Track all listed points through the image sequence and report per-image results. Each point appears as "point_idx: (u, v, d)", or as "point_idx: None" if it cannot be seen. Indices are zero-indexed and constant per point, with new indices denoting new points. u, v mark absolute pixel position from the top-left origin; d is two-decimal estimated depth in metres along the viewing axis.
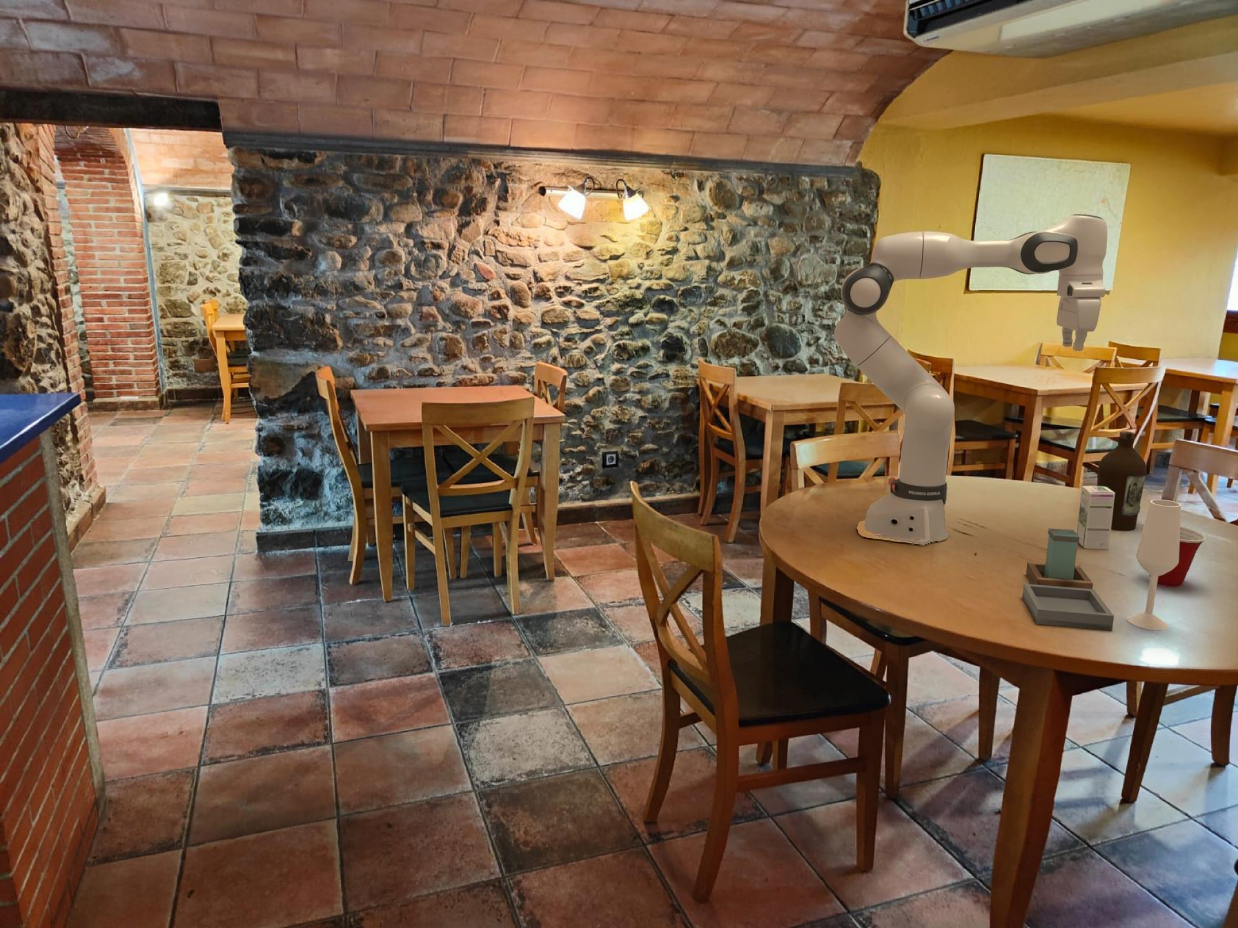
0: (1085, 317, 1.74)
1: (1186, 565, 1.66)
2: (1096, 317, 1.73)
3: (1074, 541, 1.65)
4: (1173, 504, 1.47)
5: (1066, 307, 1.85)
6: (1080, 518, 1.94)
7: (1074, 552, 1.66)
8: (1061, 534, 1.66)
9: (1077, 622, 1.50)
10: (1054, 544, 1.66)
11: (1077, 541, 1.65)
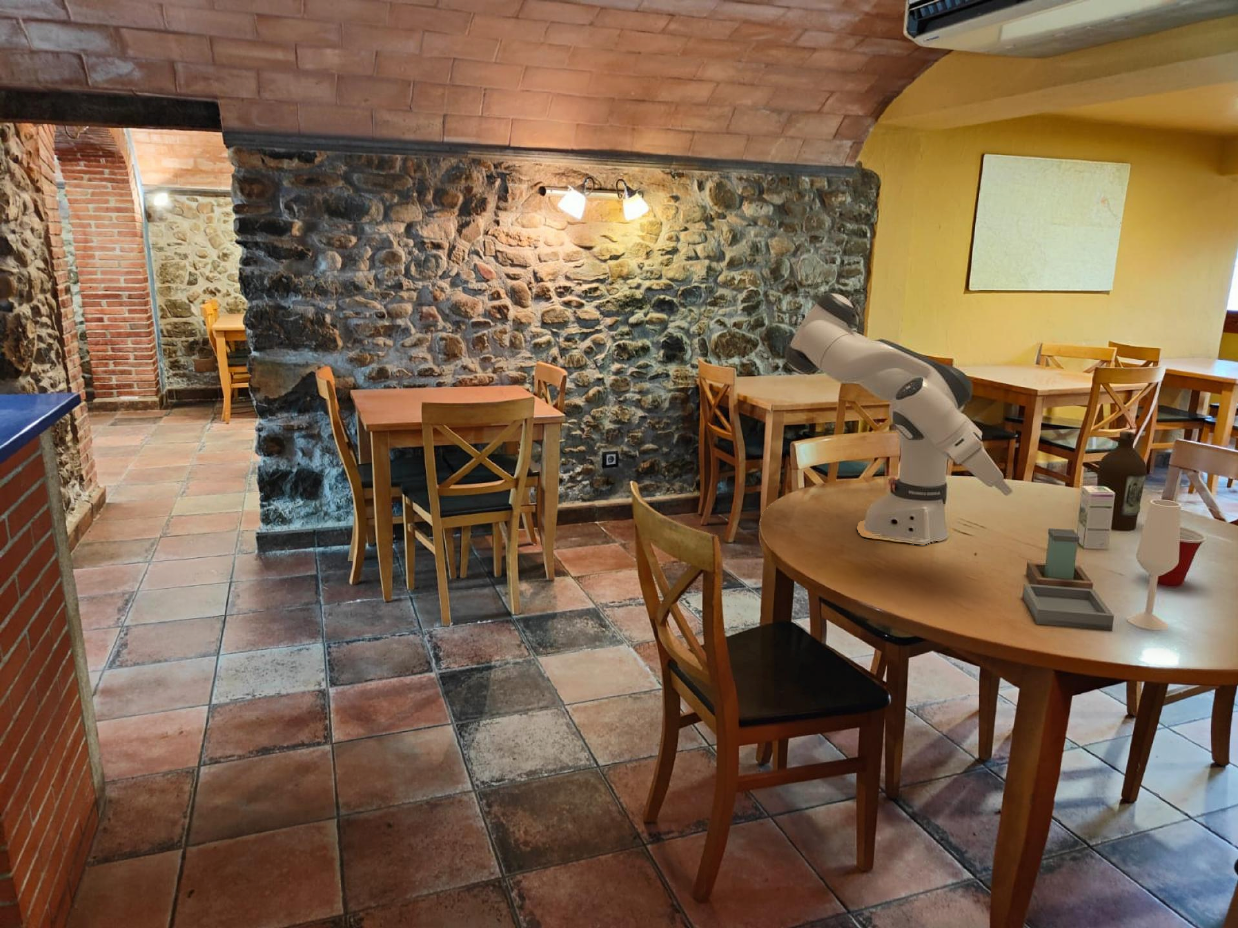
0: (984, 473, 1.60)
1: (1186, 565, 1.66)
2: (993, 467, 1.59)
3: (1074, 541, 1.65)
4: (1173, 504, 1.47)
5: None
6: (1080, 518, 1.94)
7: (1074, 552, 1.66)
8: (1061, 534, 1.66)
9: (1077, 622, 1.50)
10: (1054, 544, 1.66)
11: (1077, 541, 1.65)
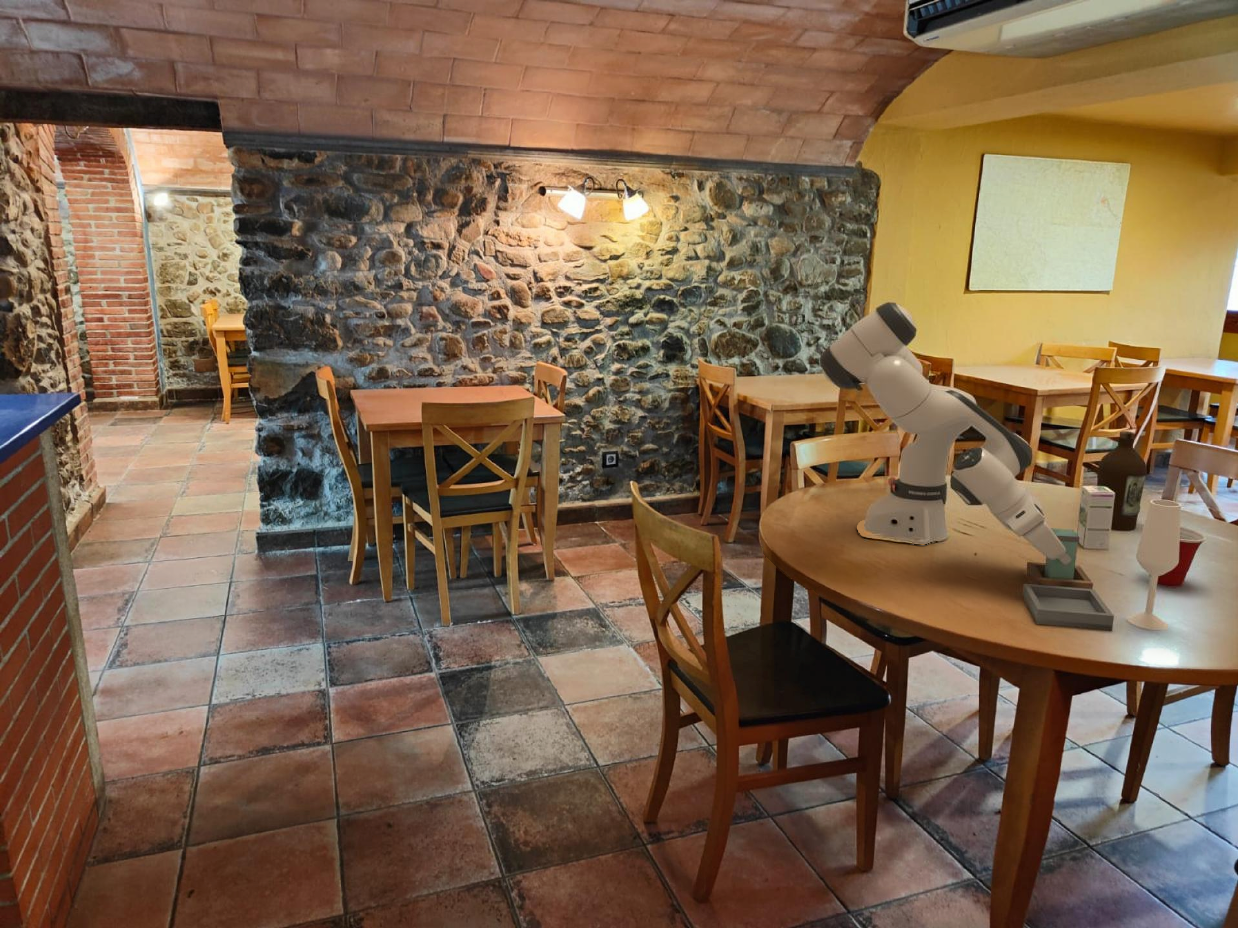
0: (1047, 547, 1.60)
1: (1186, 565, 1.66)
2: (1056, 541, 1.59)
3: (1074, 541, 1.65)
4: (1173, 504, 1.47)
5: None
6: (1080, 518, 1.94)
7: (1074, 552, 1.66)
8: (1061, 534, 1.66)
9: (1077, 622, 1.50)
10: None
11: (1077, 541, 1.65)
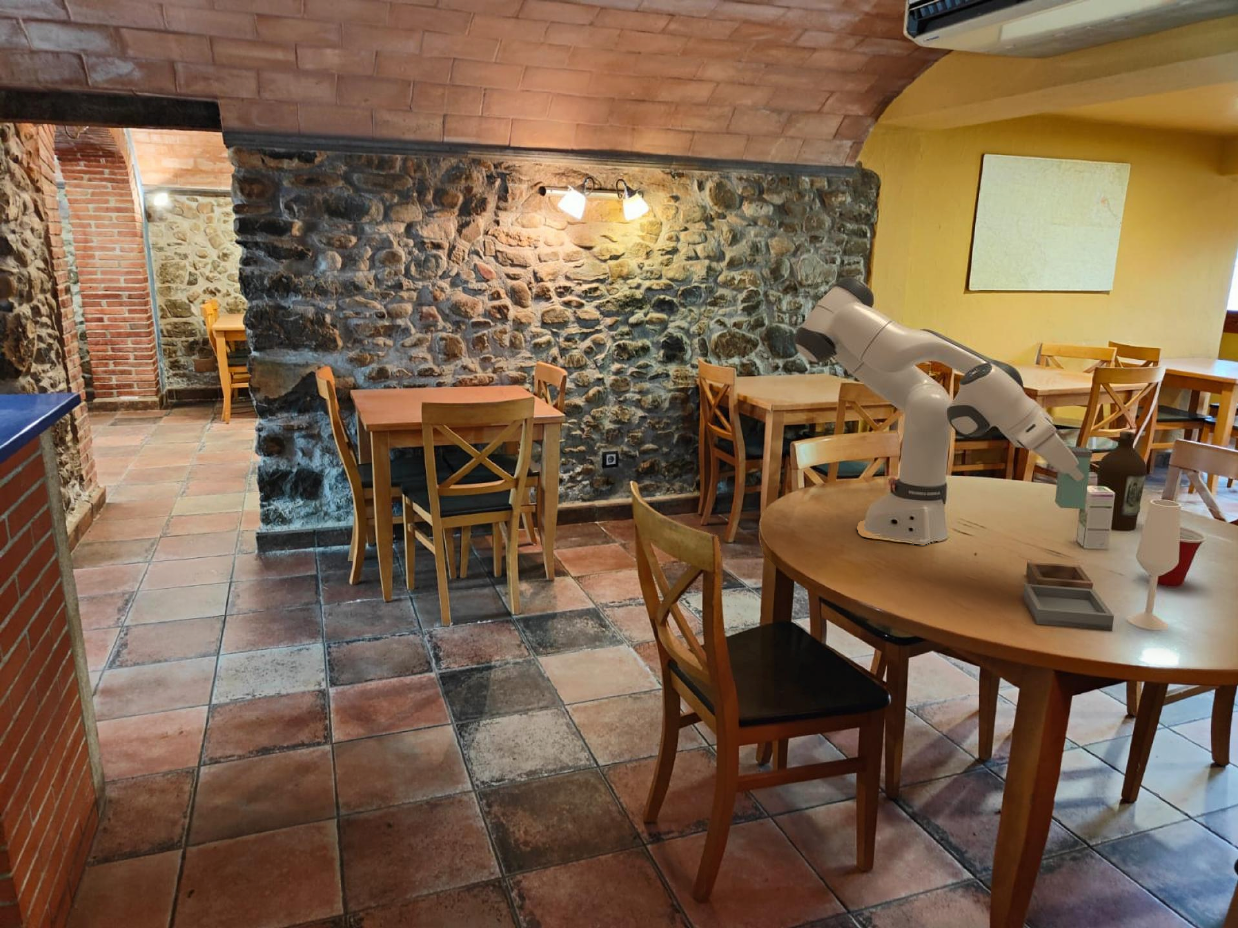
0: (1059, 460, 1.53)
1: (1186, 565, 1.66)
2: (1068, 453, 1.53)
3: (1087, 456, 1.59)
4: (1173, 504, 1.47)
5: None
6: (1080, 518, 1.94)
7: (1087, 468, 1.59)
8: (1073, 450, 1.60)
9: (1077, 622, 1.50)
10: None
11: (1090, 456, 1.59)
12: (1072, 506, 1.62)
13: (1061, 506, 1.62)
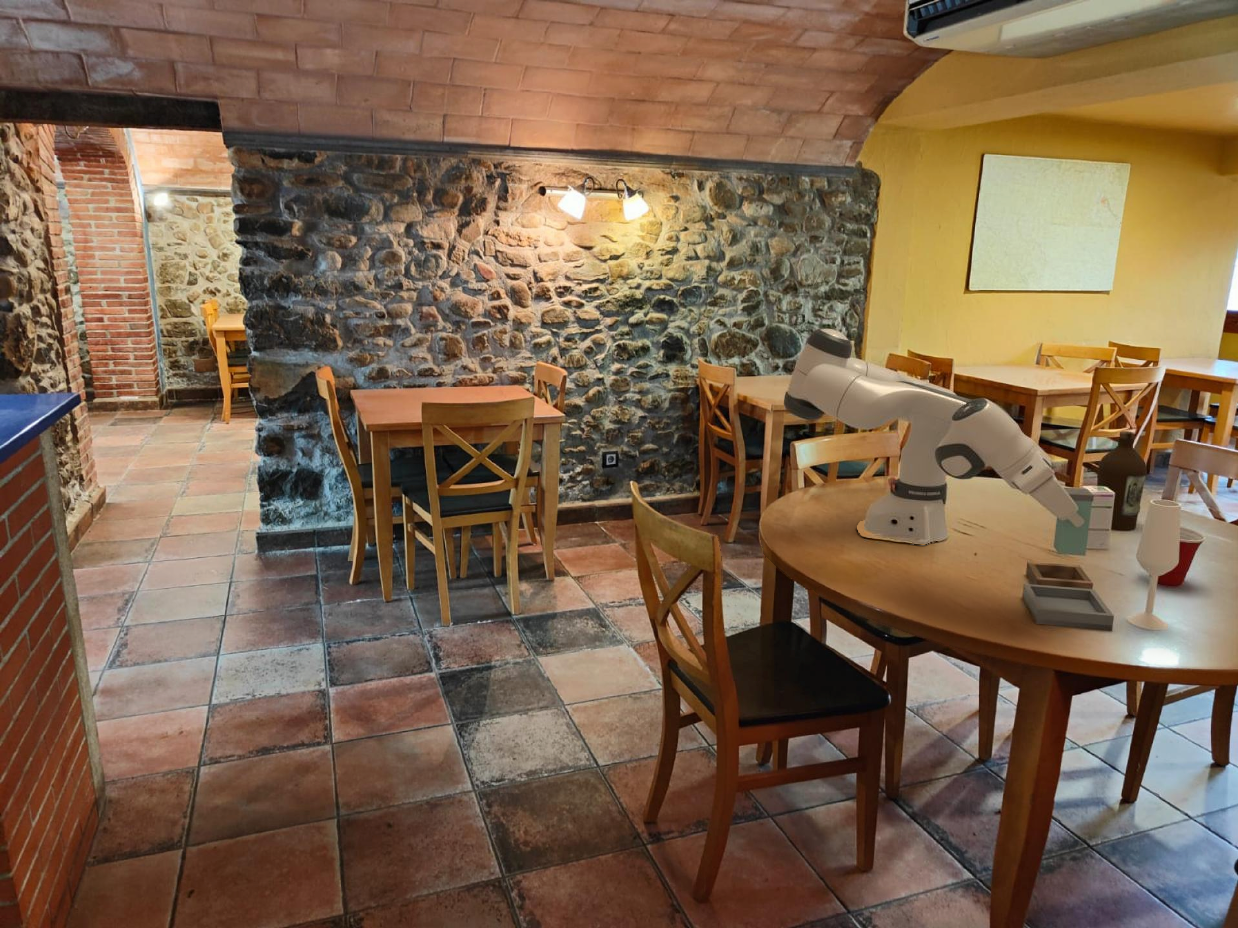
0: (1057, 505, 1.42)
1: (1186, 565, 1.66)
2: (1067, 498, 1.41)
3: (1088, 500, 1.48)
4: (1173, 504, 1.47)
5: None
6: None
7: (1088, 512, 1.48)
8: (1074, 492, 1.49)
9: (1077, 622, 1.50)
10: None
11: (1091, 500, 1.47)
12: (1072, 552, 1.50)
13: (1060, 552, 1.51)
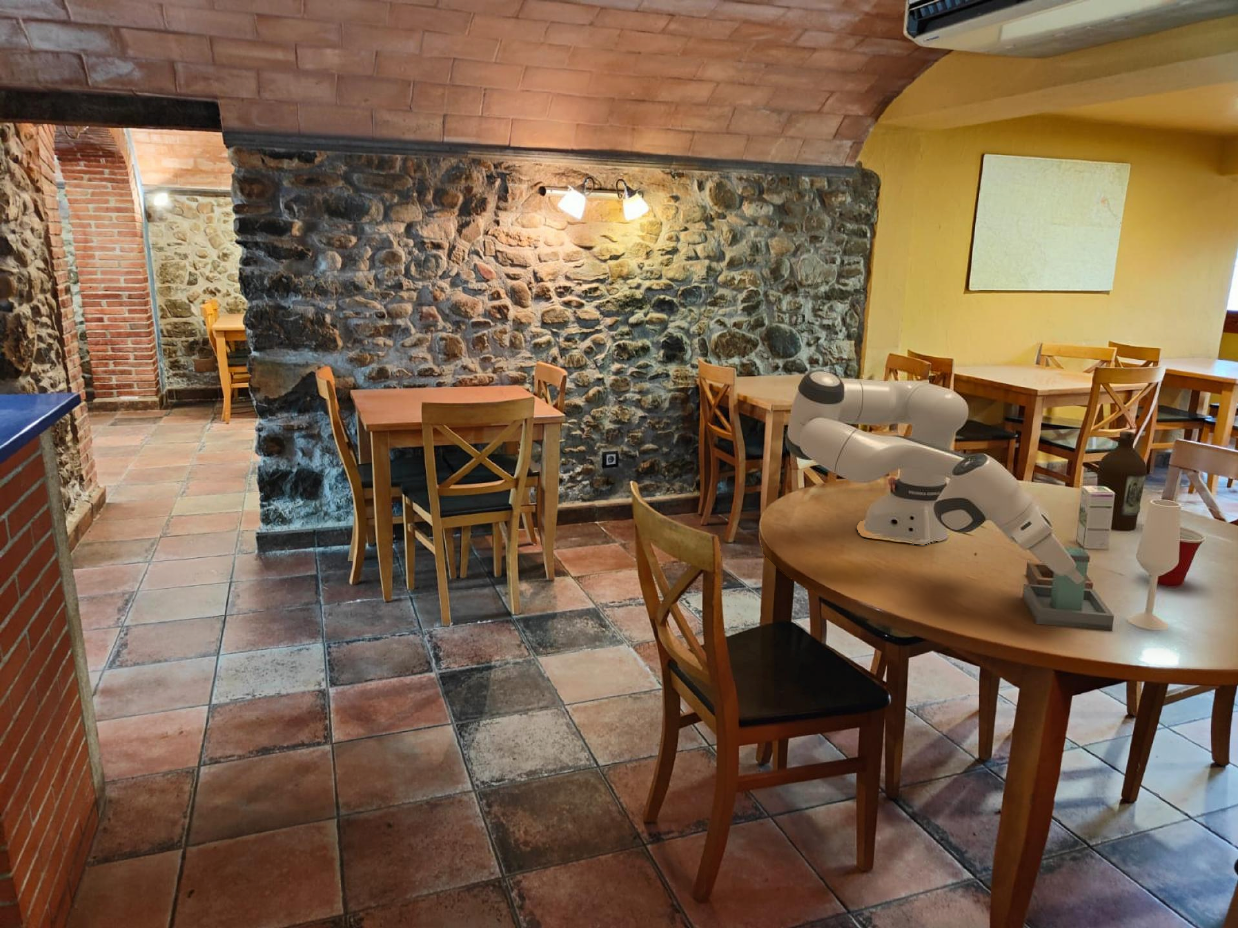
0: (1055, 562, 1.46)
1: (1186, 565, 1.66)
2: (1065, 555, 1.45)
3: (1084, 561, 1.51)
4: (1173, 504, 1.47)
5: None
6: (1080, 518, 1.94)
7: (1084, 573, 1.52)
8: (1070, 553, 1.53)
9: (1077, 622, 1.50)
10: None
11: (1087, 561, 1.51)
12: None
13: None
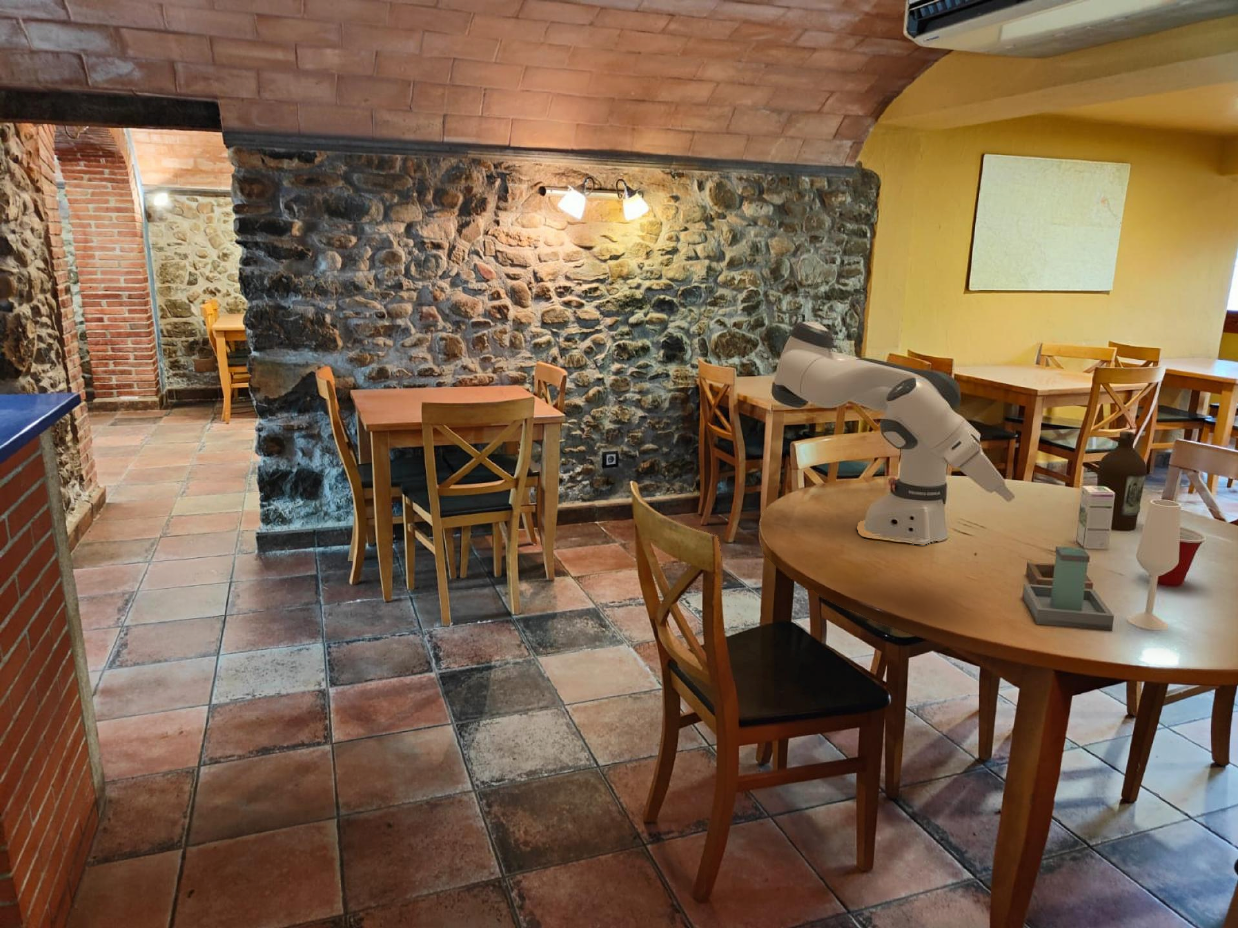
0: (984, 478, 1.48)
1: (1186, 565, 1.66)
2: (993, 471, 1.47)
3: (1084, 561, 1.51)
4: (1173, 504, 1.47)
5: None
6: (1080, 518, 1.94)
7: (1084, 573, 1.52)
8: (1070, 553, 1.53)
9: (1077, 622, 1.50)
10: (1062, 564, 1.53)
11: (1087, 561, 1.51)
12: None
13: None
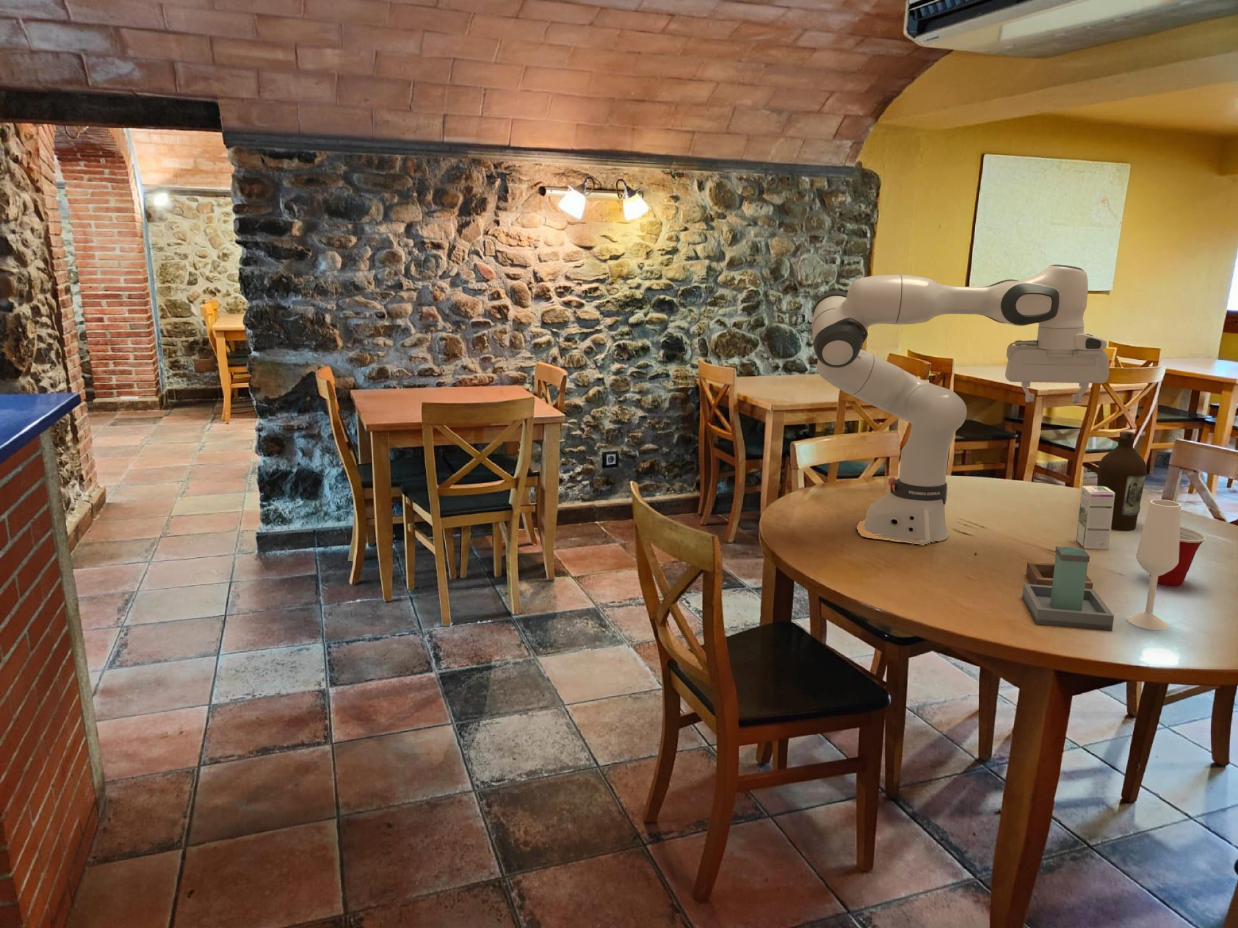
0: None
1: (1186, 565, 1.66)
2: None
3: (1084, 561, 1.51)
4: (1173, 504, 1.47)
5: (1044, 361, 1.75)
6: (1080, 518, 1.94)
7: (1084, 573, 1.52)
8: (1070, 553, 1.53)
9: (1077, 622, 1.50)
10: (1062, 564, 1.53)
11: (1087, 561, 1.51)
12: None
13: None
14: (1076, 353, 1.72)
